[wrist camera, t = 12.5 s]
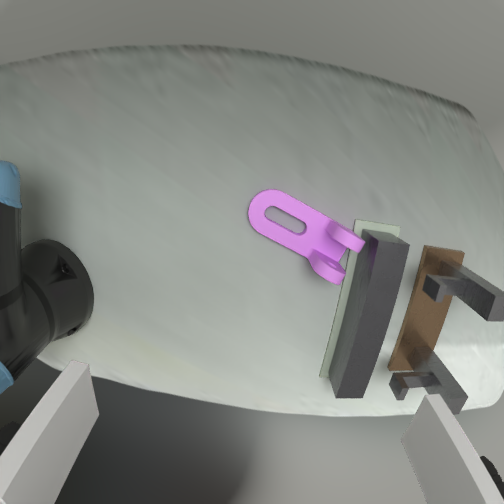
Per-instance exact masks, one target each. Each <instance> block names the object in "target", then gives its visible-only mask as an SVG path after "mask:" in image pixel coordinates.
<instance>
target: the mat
mask: <svg viewBox="0 0 504 504" xmlns="http://www.w3.org/2000/svg"><path fill="white" fill-rule="evenodd" d="M362 229H368V230H374V231H381V232H388V233H391V234H393V235H395V236H396V237H399V232H400V226H395V225H389V224H383V223H376V222H370V221H364V220H357V219H355V223H354V228H353V232H354V233H355V234H357V235H358V236H359V237H360V238H361V234H362ZM357 255H358V252H355V251H353V250H351V249H350V250H349V255H348V260H347V265H346V269H345V272H346V275H345V277H344V279H343V284H342V288H341V293H340V297H339V301H338V306H337V310H336V314H335V318H334V322H333V326H332V330H331V334H330V338H329V342H328V346H327V349H326V353H325V357H324V361H323V364H322V368H321V371H320V375H319V377H321V378H330V377H329V374H328V371H329V368H330V364H331V361H332V358H333V354H334V350H335V347H336V343H337V340H338V336H339V332H340V328H341V324H342V320H343V316H344V312H345V308H346V304H347V300H348V296H349V292H350V287H351V283H352V278H353V274H354V269H355V265H356V260H357Z"/></svg>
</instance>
